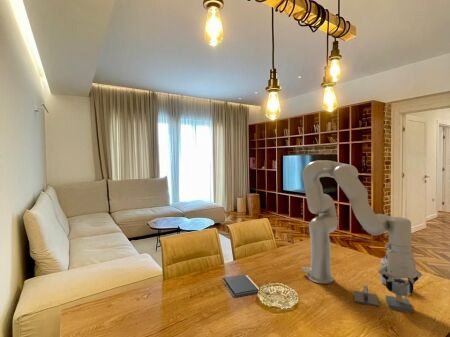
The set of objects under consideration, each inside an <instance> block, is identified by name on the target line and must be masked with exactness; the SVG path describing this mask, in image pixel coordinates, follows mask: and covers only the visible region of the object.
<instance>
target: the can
mask: <svg viewBox="0 0 450 337" xmlns="http://www.w3.org/2000/svg"><path fill="white" fill-rule="evenodd" d="M384 265H385V256H384V257H382V258H381V260H380V268H381V267H382V266H384ZM383 273H384V274H385V275H386V274H387V272H386V271H384V272H383ZM379 274H380V273H379ZM395 278H399V277H395ZM379 279H380V281H381V283H382V284H383V285H384V286H386V279H385V278H384V277H383V276H382V275H381V274H380V278H379Z"/></svg>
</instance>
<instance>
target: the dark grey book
mask: <svg viewBox="0 0 450 337" xmlns="http://www.w3.org/2000/svg"><path fill="white" fill-rule="evenodd" d="M221 279H222V280H224V281H225V282H226V283H223V285H224V284H225V285H226V286H225V285H224V286H225V287H227V288H228V289H227V288H226V289H227V291H228V290H229V291H228V293H229V294H230V293H231V294H230V296H231V297H232V298H234V299H239V297H240V298H243V297H244V296H245V297H249V296H254V295H258V294H257V293H258V291H259V288H260V287H259V285H258V284H256V282H254V280H253V279H251V277H250V276H249V275H248V274H240V275H239V274H238V275H232V276H227V277H226V276H225V277H221V278H220V280H221ZM222 280H221V281H222ZM245 297H244V298H245Z"/></svg>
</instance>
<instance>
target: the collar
mask: <svg viewBox="0 0 450 337" xmlns="http://www.w3.org/2000/svg"><path fill="white" fill-rule="evenodd" d="M407 280H408V279H406V278H395V277H393V278H392V280H391V282H392V292H391V293H392V294H394V295H396V294H397V295H399V296H402V297H408V296H410V295H411V293H410V283H409V282H408V281H407Z"/></svg>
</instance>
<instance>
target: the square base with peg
mask: <svg viewBox="0 0 450 337" xmlns="http://www.w3.org/2000/svg"><path fill="white" fill-rule="evenodd" d="M385 300H386V303H387V306H388V309H389V310H395V311H401V312H405V313H410V314H414V308H413V307H412V304H411V302H410V301H409V299H408V298H404V297H403V296H399V295H397V294H395V296H391V295H385Z"/></svg>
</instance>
